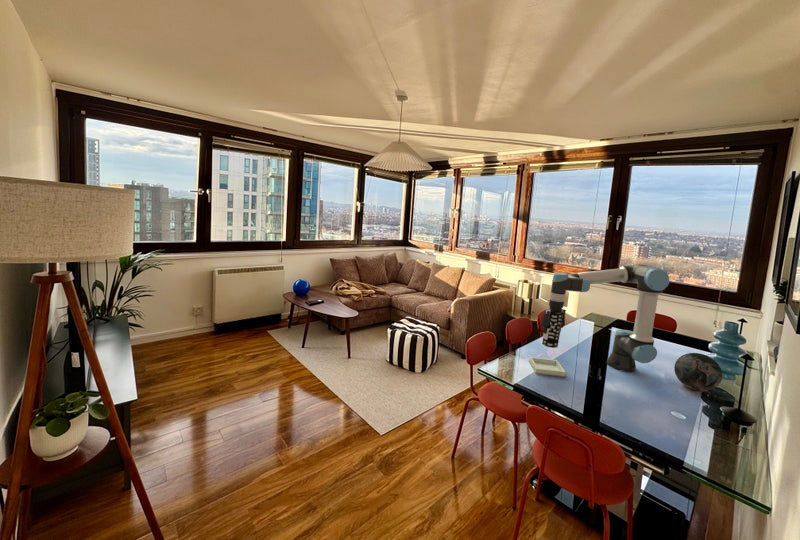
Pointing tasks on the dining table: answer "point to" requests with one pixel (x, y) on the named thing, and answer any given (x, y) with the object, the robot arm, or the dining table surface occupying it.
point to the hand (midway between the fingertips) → (551, 338)
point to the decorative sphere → (698, 371)
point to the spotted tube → (553, 330)
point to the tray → (547, 366)
